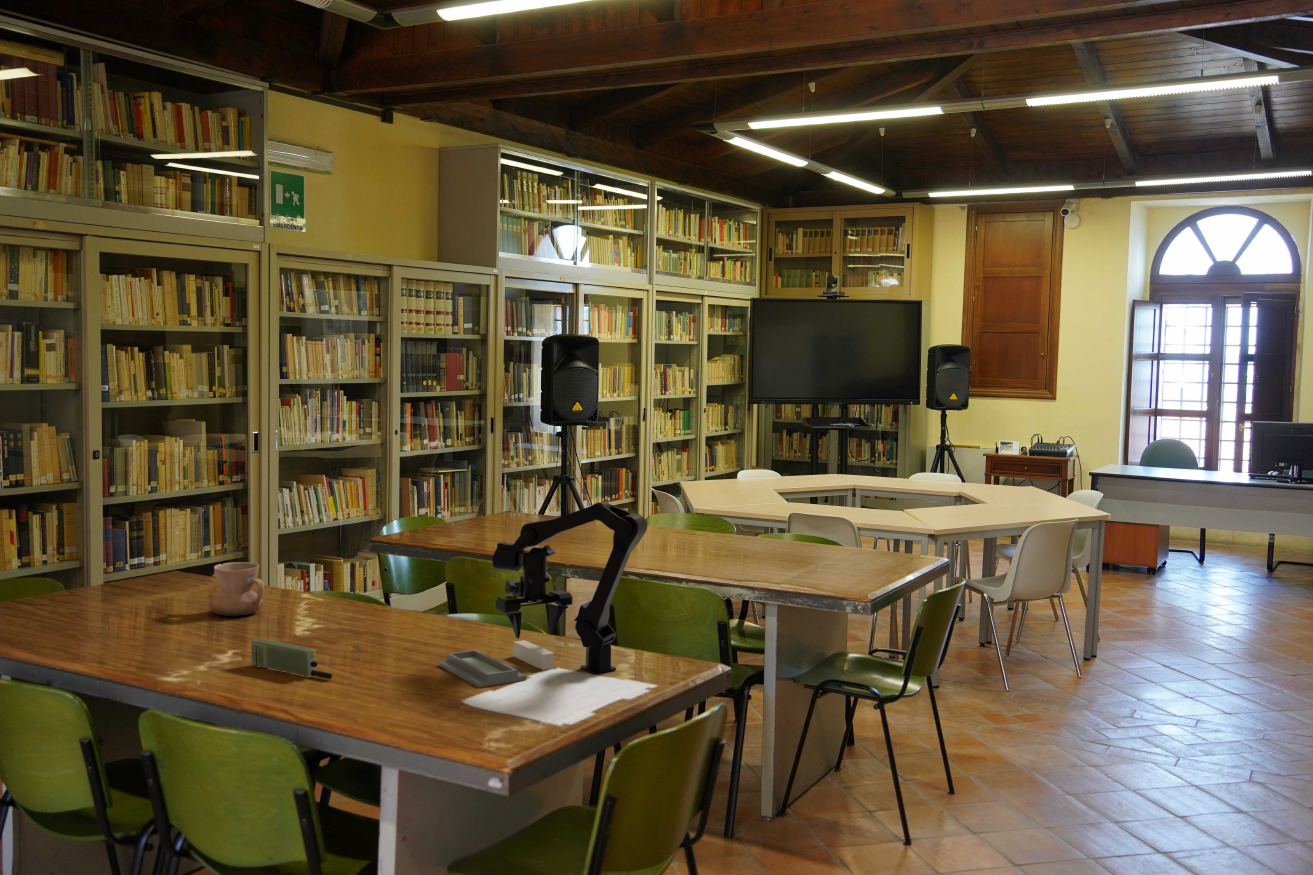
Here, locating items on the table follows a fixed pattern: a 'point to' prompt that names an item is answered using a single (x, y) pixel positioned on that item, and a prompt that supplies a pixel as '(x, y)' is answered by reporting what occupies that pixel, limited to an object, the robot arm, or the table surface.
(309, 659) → the handheld radio
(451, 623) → the table surface
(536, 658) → the white long block
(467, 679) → the grey rectangular tray
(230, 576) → the pink mug
